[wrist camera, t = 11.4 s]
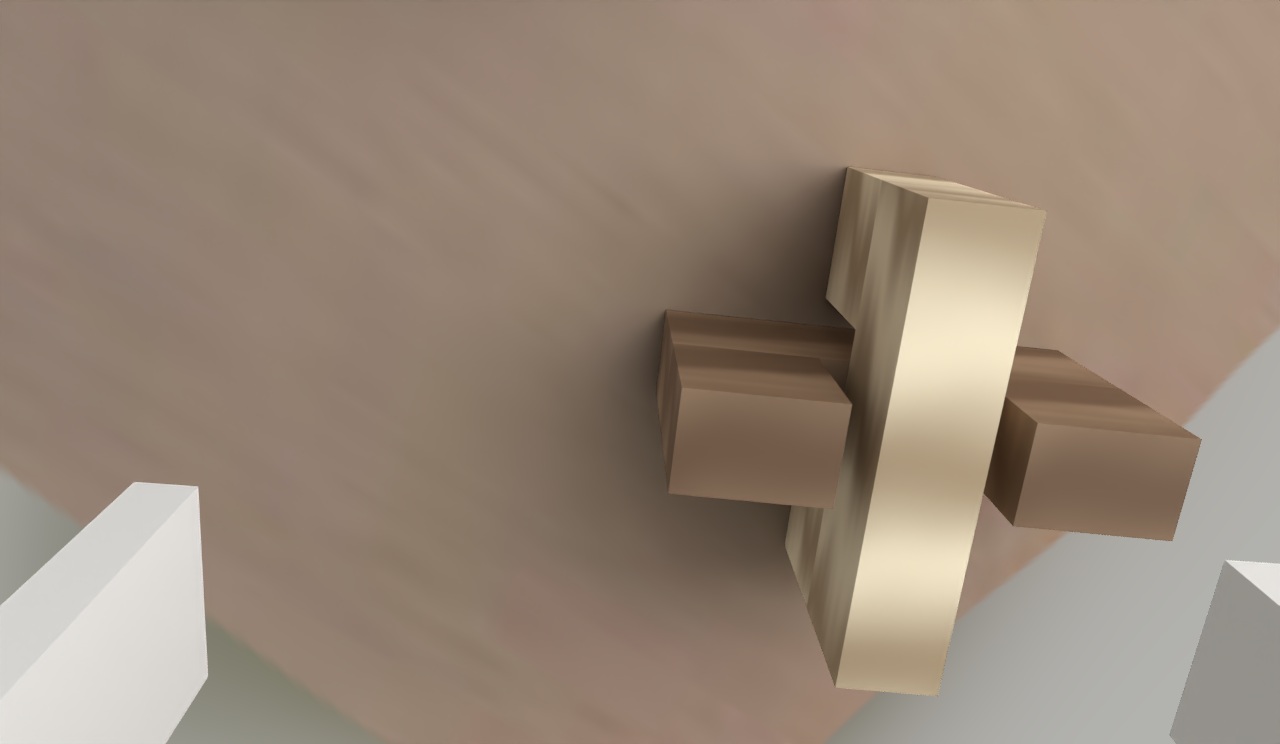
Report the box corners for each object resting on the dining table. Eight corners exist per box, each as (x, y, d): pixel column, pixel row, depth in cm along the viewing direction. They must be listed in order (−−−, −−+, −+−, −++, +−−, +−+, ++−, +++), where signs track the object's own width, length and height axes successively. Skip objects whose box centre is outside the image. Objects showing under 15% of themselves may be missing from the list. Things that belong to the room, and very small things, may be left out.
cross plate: (847, 166, 33) (928, 197, 24) (935, 176, 33) (1046, 210, 24) (784, 545, 37) (835, 687, 28) (863, 552, 37) (937, 696, 28)
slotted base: (665, 309, 34) (681, 387, 26) (1057, 350, 35) (1201, 439, 26) (656, 391, 35) (667, 493, 26) (1038, 429, 36) (1172, 541, 27)
